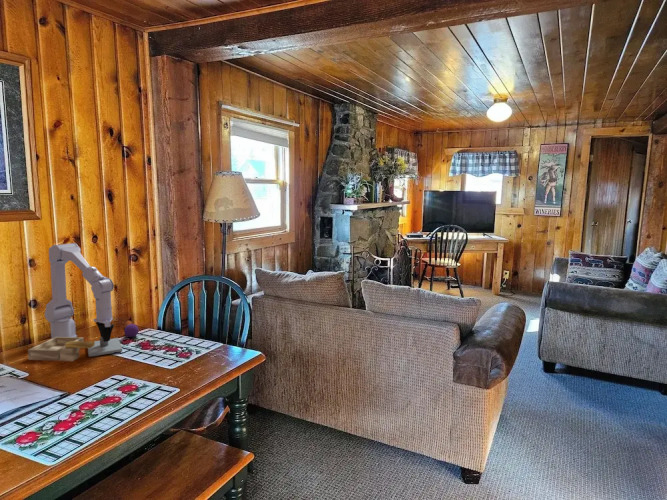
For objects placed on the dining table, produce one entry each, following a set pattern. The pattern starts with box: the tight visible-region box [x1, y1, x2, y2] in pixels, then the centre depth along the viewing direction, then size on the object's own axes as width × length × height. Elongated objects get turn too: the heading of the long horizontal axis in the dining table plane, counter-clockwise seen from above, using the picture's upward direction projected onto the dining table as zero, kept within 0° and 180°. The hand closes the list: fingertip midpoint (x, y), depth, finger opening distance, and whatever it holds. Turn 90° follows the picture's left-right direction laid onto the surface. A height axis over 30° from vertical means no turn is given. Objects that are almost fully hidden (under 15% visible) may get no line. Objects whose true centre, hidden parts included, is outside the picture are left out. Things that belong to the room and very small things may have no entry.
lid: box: [87, 336, 123, 358], centre depth 181 cm, size 16×12×6 cm
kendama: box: [123, 320, 139, 338], centre depth 203 cm, size 6×6×20 cm
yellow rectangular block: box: [65, 340, 95, 349], centre depth 169 cm, size 3×10×2 cm, turn 87°
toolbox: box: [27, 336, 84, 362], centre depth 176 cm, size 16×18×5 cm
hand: (105, 339), depth 181 cm, fingers open, 4 cm apart
